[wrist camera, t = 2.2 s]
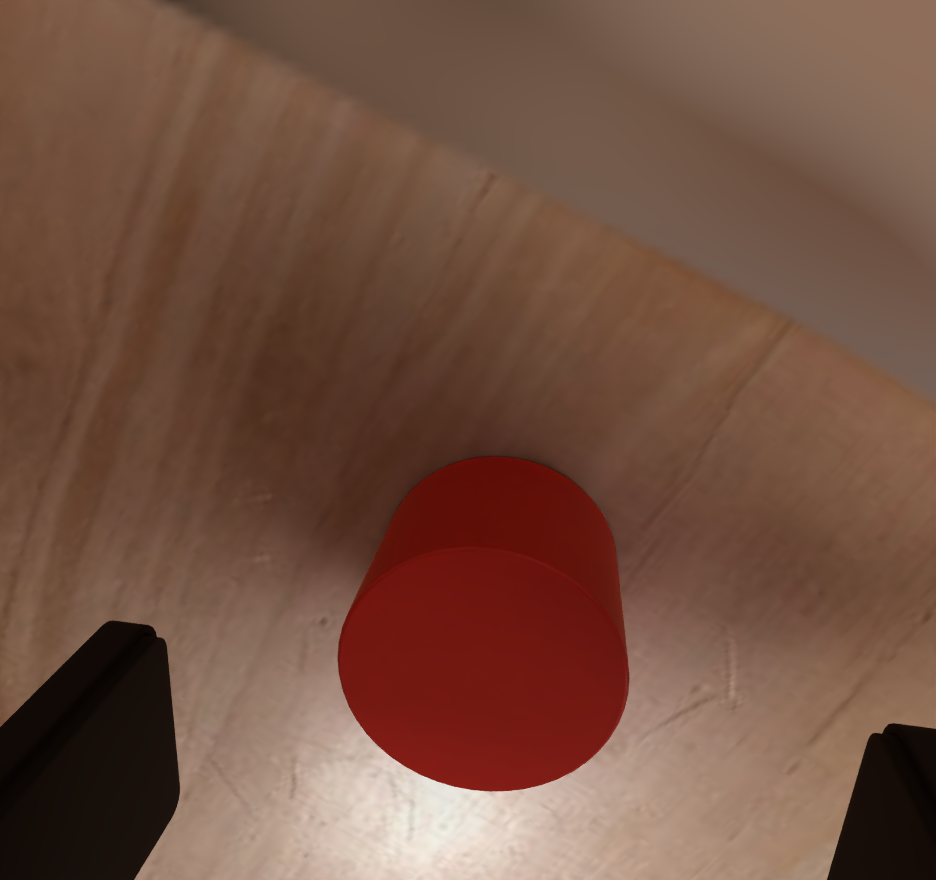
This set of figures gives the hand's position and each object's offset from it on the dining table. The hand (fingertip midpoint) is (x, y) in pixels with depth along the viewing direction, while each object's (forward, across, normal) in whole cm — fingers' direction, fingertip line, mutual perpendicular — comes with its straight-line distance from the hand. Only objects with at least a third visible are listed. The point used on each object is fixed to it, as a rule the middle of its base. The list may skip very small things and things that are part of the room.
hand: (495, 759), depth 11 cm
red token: (+5, 0, 0) cm, 5 cm away
